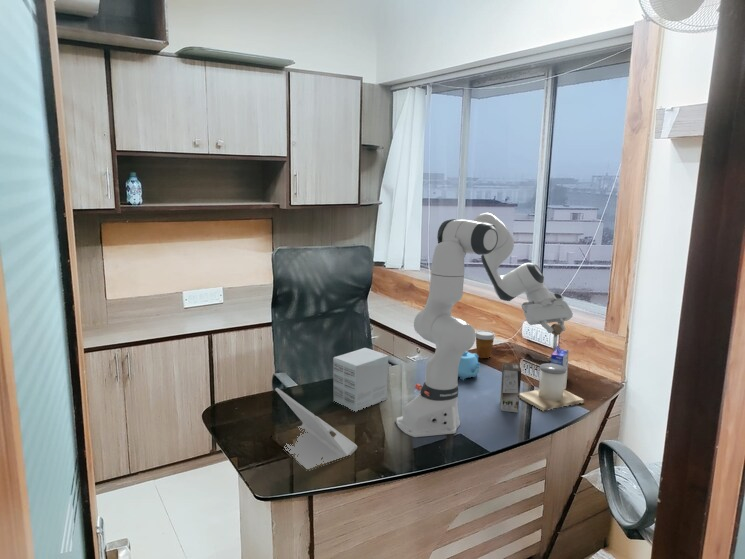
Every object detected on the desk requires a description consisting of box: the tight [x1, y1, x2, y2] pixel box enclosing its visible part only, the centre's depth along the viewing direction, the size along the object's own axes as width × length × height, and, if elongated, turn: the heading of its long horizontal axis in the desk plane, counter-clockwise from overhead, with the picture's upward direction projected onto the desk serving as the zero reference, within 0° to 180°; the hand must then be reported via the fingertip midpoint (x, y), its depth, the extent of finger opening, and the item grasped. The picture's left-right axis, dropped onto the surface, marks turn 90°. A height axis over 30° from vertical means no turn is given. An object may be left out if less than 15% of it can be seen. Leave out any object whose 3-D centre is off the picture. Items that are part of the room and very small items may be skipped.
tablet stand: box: [274, 387, 358, 469], centre depth 163 cm, size 18×25×17 cm
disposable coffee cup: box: [475, 329, 496, 359], centre depth 250 cm, size 10×10×12 cm
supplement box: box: [332, 347, 389, 413], centre depth 197 cm, size 17×13×18 cm
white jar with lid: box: [538, 362, 568, 401], centre depth 201 cm, size 11×10×12 cm
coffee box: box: [499, 362, 523, 413], centre depth 193 cm, size 9×6×16 cm
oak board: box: [519, 389, 584, 412], centre depth 201 cm, size 20×14×2 cm
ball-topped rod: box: [550, 323, 563, 351], centre depth 197 cm, size 4×4×10 cm
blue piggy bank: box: [458, 350, 481, 380], centre depth 224 cm, size 15×14×11 cm
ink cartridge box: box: [550, 345, 569, 372], centre depth 222 cm, size 10×6×14 cm, turn 148°
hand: (557, 331), depth 196 cm, fingers closed on ball-topped rod, 4 cm apart
